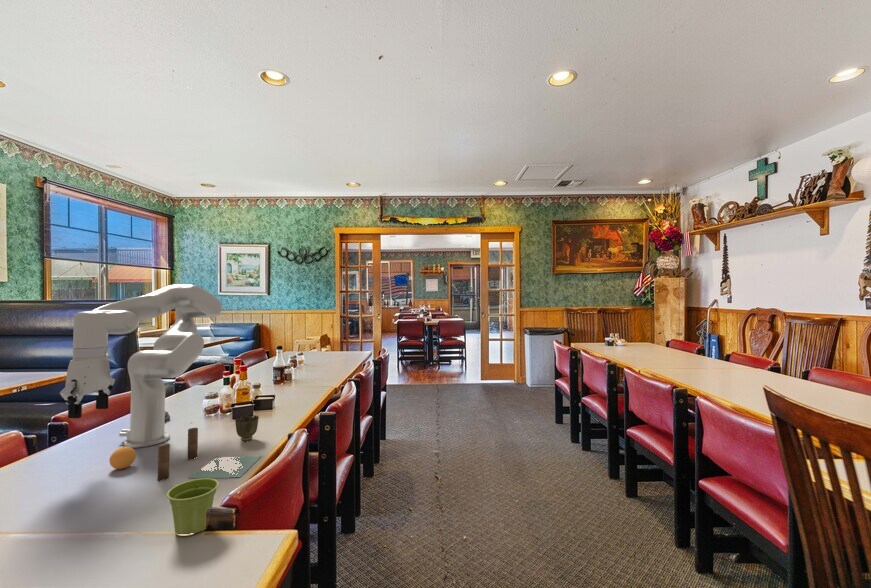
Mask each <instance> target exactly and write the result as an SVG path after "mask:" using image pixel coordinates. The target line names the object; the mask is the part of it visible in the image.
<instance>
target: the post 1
mask: <svg viewBox="0 0 871 588" xmlns="http://www.w3.org/2000/svg"><path fill="white" fill-rule="evenodd" d="M170 450H171V444H170V443H162V444H161V443H160V444H159V445H158V446H157V480H158V481H165V480H167V479H169V478H170V462H171V461H170V458H171V457H170V452H171V451H170Z"/></svg>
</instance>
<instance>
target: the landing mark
mask: <svg viewBox="0 0 871 588" xmlns="http://www.w3.org/2000/svg"><path fill="white" fill-rule="evenodd" d="M217 457H218V458H219V457H220V458H221V457H222V456H214V458H217ZM233 457H234V456H233ZM239 457H240V458H238V457H237V458H236V457H235V458H236V459H235V458H234V459H235V460H236V461H239V460H240V461H239V462H240V463H241V464H242V466H243V468H241V467H242V466H240V467H238V468H239V469H237V471H235V470H233V472H234V473H235V474H233V475H232V473H233V472H232V473H230V474H229V472H226V471H223V470H222V469H220V470H219V468H218V467H219V461H220V460H219V459H218V458H217V459H218V460H219V461H218V460H217V459H216V460H214V458H213V460H214V462H215V463H216V465H217V466H215V467H217V470H216V469H214V471H212V470H211V471H212V472H211V471H209V470H208V471H207V470H206V471H204V470H203V471H202V470H201V468H199V469H200V470H199V469H198V470H196V471H195V472H194V473H192V475H190V476H189V477H188V479H189V480H190V479H203V478H210V479H230V478H229V477H234V478H233V479H236V478H235V477H239V478H238V479H240V478H241V477H243V476H244V474H246V472H247V470H248V469H249V468H250V467H251V466H252V465H253V464H254V465H255V464H256V463H257V462H258V461H259V460H260V459H261V458H262V457H263V456H262V455H261V456H259V455H256V456H255V455H253V456H252V455H251V456H250V455H248V456H246V455H245V456H244V455H243V456H241V455H239ZM231 459H232V458H231ZM234 459H233V460H234ZM237 459H238V460H237ZM211 460H212V459H211ZM213 460H212V461H213ZM221 461H222V460H221ZM227 461H228V460H227ZM209 462H210V461H209ZM209 462H207V463H209ZM210 463H211V462H210ZM210 463H209V464H210ZM240 463H239V464H240ZM235 464H237V463H235ZM254 465H253V466H254ZM253 466H252V467H253ZM215 467H214V468H215ZM252 467H251V468H252ZM220 468H221V467H220ZM223 468H224V467H223ZM240 468H241V469H240ZM251 468H250V469H251ZM211 469H212V468H211ZM250 469H249V470H250ZM231 470H232V469H231ZM249 470H248V471H249ZM238 471H239V472H238ZM237 473H238V474H237ZM236 474H237V475H236Z"/></svg>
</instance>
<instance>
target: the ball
mask: <svg viewBox="0 0 871 588" xmlns="http://www.w3.org/2000/svg"><path fill="white" fill-rule="evenodd" d="M136 458H137V452H136V450H135V449H134V448H131V447H125V446H122V447H119V448H117V449H116V450H114V451H113V452H112V453H111V455H110V457H109V465H110V466H111V467H112V468H113V469H117V470H123V469H126V468H129V467H130V466H131V465H132V464H133V463H134V462H135V460H136Z"/></svg>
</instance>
